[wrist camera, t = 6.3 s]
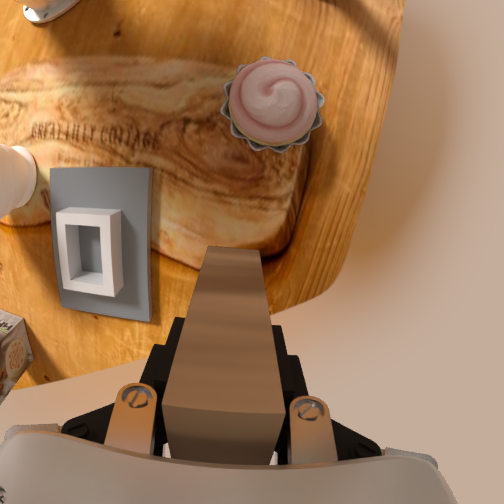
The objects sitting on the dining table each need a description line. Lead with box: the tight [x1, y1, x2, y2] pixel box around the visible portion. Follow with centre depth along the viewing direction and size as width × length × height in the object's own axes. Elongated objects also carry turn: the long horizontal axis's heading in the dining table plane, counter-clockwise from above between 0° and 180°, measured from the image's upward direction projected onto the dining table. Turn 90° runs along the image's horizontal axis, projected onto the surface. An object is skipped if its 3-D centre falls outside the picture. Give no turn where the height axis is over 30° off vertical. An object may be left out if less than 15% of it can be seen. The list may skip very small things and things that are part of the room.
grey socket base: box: [50, 166, 153, 322], centre depth 30 cm, size 18×13×4 cm
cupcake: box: [220, 56, 325, 153], centre depth 23 cm, size 9×9×10 cm
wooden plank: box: [162, 246, 286, 465], centre depth 13 cm, size 4×3×12 cm, turn 174°
